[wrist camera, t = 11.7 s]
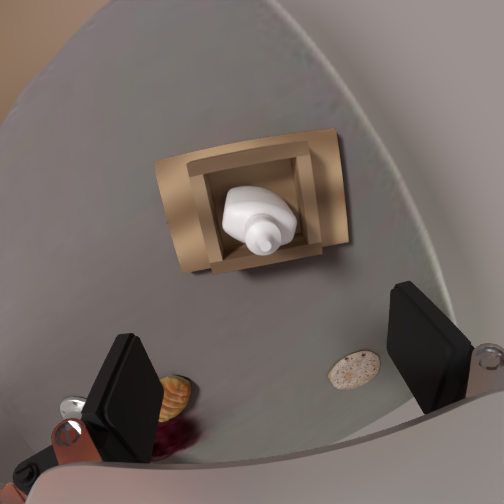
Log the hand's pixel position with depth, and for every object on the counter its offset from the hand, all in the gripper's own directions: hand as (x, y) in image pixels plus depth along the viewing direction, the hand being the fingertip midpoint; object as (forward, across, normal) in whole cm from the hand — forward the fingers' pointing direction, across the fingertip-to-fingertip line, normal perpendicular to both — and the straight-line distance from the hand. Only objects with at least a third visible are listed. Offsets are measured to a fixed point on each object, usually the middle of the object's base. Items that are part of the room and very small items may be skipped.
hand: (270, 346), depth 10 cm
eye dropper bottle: (+21, -1, 0) cm, 21 cm away
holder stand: (+22, -1, -1) cm, 22 cm away
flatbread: (+23, -11, +26) cm, 37 cm away
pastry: (+23, +17, +25) cm, 38 cm away
